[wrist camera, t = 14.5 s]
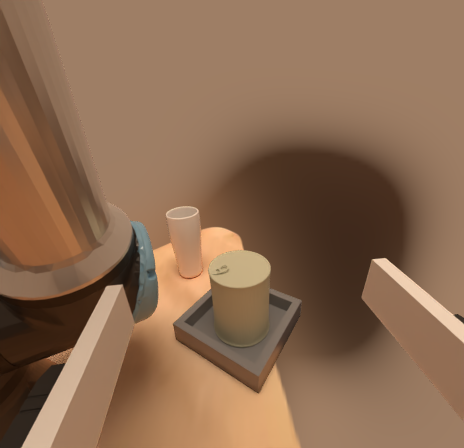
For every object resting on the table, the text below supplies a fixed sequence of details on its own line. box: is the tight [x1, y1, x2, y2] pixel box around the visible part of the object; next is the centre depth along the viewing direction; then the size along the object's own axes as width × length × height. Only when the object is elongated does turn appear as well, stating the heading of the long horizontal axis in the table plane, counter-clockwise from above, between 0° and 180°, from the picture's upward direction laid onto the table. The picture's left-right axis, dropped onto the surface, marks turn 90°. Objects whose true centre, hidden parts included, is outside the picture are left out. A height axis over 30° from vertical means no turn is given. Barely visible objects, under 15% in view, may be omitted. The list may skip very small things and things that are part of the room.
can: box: [208, 250, 271, 348], centre depth 37 cm, size 9×9×12 cm
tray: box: [173, 288, 301, 393], centre depth 40 cm, size 15×15×4 cm
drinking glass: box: [166, 206, 202, 278], centre depth 52 cm, size 7×7×15 cm
